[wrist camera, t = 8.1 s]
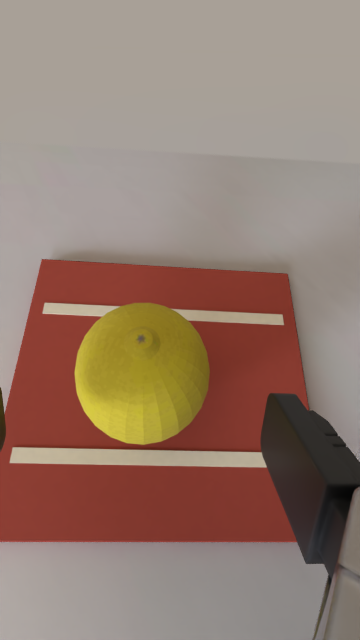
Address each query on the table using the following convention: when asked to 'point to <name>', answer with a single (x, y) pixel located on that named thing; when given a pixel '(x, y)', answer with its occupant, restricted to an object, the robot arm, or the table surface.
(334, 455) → the robot arm
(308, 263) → the table surface
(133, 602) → the table surface
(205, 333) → the pot holder
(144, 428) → the lemon
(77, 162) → the table surface
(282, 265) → the table surface
